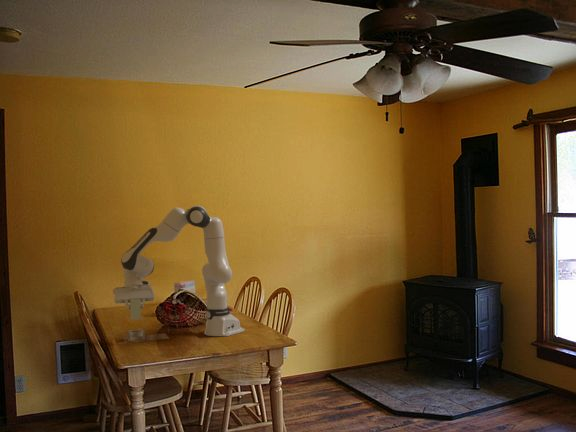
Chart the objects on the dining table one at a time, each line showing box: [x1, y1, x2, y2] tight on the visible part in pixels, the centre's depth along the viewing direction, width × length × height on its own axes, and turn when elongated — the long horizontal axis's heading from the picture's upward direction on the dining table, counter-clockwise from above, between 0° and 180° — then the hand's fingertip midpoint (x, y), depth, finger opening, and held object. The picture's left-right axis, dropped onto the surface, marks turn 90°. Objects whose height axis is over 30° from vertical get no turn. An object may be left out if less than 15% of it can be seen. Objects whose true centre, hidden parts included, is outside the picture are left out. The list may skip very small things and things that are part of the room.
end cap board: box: [122, 328, 170, 344], centre depth 282 cm, size 22×12×6 cm, turn 112°
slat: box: [129, 299, 142, 321], centre depth 280 cm, size 5×2×10 cm, turn 112°
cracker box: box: [173, 279, 196, 295], centre depth 349 cm, size 14×6×21 cm, turn 149°
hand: (135, 308), depth 279 cm, fingers closed on slat, 5 cm apart
